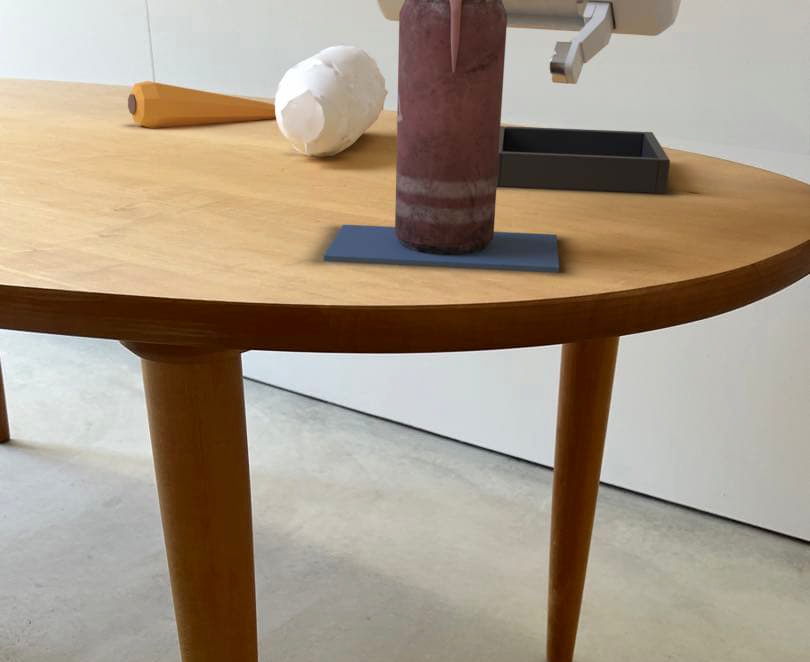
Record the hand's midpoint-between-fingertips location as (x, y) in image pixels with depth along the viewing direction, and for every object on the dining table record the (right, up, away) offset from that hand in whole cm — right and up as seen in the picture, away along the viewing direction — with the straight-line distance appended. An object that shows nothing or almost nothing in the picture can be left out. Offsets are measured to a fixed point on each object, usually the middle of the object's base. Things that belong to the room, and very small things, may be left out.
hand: (489, 71), depth 69 cm
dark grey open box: (+9, +1, +23) cm, 25 cm away
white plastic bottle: (-12, +6, +31) cm, 33 cm away
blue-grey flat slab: (-3, -11, 0) cm, 12 cm away
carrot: (-23, +13, +43) cm, 51 cm away
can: (-3, -11, 0) cm, 11 cm away
